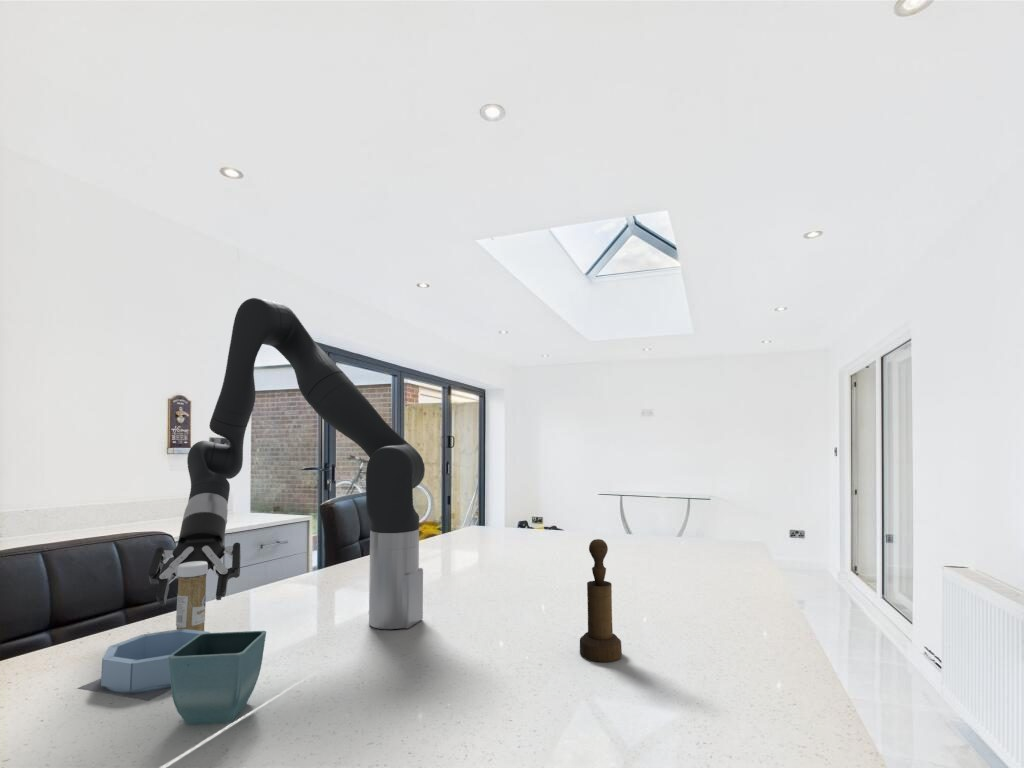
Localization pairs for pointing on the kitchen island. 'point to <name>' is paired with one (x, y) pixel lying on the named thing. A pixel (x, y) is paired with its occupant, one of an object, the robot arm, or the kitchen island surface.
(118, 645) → the bowl
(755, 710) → the kitchen island surface
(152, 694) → the mat
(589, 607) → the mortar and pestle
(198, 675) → the flower pot
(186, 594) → the sprinkles bottle
